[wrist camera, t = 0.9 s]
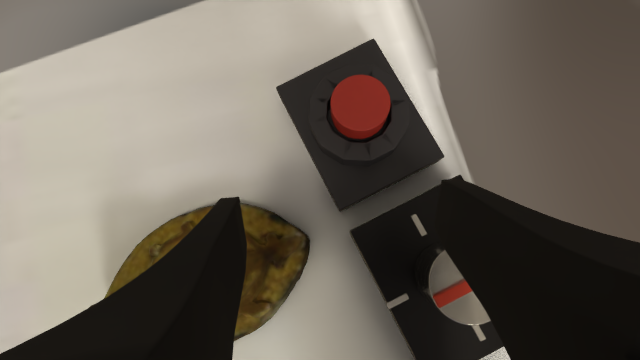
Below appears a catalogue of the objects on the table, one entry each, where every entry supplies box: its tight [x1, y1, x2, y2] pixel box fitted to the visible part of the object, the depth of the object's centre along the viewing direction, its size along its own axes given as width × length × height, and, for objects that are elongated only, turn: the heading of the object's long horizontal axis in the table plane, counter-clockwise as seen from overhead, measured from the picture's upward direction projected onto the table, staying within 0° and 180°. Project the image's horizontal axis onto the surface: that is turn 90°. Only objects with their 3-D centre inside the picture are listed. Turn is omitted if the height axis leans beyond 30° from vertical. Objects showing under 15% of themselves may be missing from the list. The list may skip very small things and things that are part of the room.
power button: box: [331, 75, 391, 139], centre depth 20 cm, size 4×4×2 cm
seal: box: [89, 203, 310, 341], centre depth 21 cm, size 9×5×15 cm
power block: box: [276, 39, 444, 212], centre depth 23 cm, size 10×8×4 cm
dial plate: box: [350, 175, 504, 360], centre depth 21 cm, size 10×8×3 cm
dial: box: [414, 242, 491, 325], centre depth 18 cm, size 4×4×4 cm
